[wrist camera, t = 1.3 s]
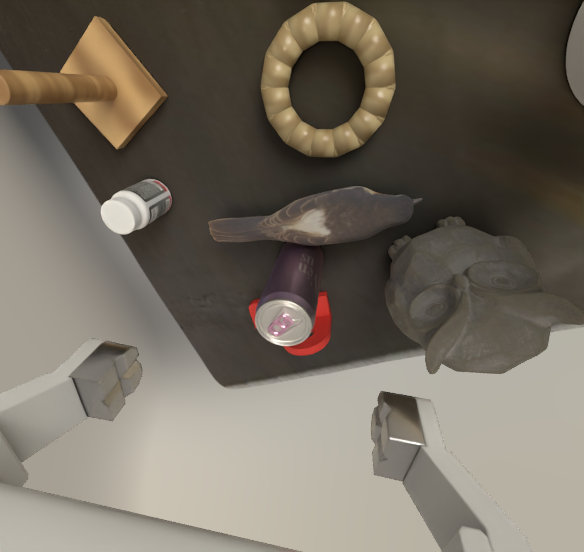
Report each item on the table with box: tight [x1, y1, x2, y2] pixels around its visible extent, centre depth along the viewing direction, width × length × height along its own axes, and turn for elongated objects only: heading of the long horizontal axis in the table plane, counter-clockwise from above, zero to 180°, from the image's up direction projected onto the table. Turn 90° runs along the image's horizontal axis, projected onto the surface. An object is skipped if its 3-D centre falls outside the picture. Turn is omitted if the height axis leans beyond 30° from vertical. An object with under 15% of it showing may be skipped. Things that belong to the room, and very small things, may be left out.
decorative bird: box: [209, 186, 422, 246], centre depth 38 cm, size 6×25×5 cm, turn 99°
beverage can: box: [255, 242, 324, 346], centre depth 37 cm, size 6×6×15 cm
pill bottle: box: [101, 179, 172, 234], centre depth 39 cm, size 5×5×8 cm
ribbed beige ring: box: [261, 2, 396, 157], centre depth 32 cm, size 13×14×3 cm
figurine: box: [385, 216, 584, 374], centre depth 32 cm, size 14×16×20 cm
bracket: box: [249, 291, 332, 355], centre depth 45 cm, size 12×4×8 cm, turn 103°
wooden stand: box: [0, 16, 168, 149], centre depth 30 cm, size 9×9×14 cm
